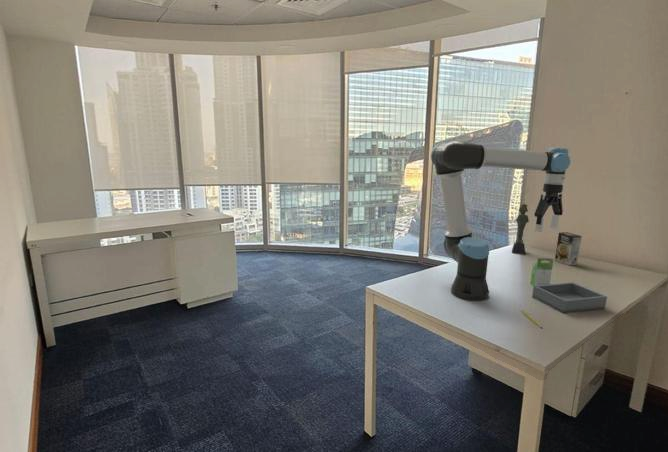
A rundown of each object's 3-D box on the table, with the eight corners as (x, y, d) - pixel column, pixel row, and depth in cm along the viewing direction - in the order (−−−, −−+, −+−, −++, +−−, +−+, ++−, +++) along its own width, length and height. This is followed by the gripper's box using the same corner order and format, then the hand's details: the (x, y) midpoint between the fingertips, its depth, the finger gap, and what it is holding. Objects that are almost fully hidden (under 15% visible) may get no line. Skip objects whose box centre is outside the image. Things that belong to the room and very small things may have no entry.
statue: (524, 251, 228) (531, 202, 221) (525, 254, 221) (532, 204, 215) (511, 250, 231) (517, 201, 224) (512, 253, 224) (518, 203, 218)
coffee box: (554, 260, 211) (558, 232, 207) (562, 259, 212) (567, 231, 209) (568, 265, 202) (572, 236, 199) (577, 264, 204) (582, 235, 200)
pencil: (541, 330, 131) (541, 327, 131) (520, 312, 145) (521, 310, 144) (543, 330, 131) (544, 327, 131) (523, 312, 145) (523, 310, 144)
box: (563, 313, 144) (565, 301, 142) (532, 297, 159) (533, 285, 158) (605, 308, 148) (607, 296, 147) (570, 293, 164) (572, 282, 163)
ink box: (545, 284, 174) (549, 256, 171) (549, 287, 170) (553, 258, 167) (530, 283, 175) (533, 255, 172) (533, 286, 171) (537, 258, 168)
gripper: (547, 185, 157) (540, 234, 162) (576, 183, 171) (568, 229, 176) (530, 183, 163) (523, 230, 168) (558, 181, 177) (551, 226, 182)
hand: (546, 230), depth 172 cm, fingers open, 13 cm apart
